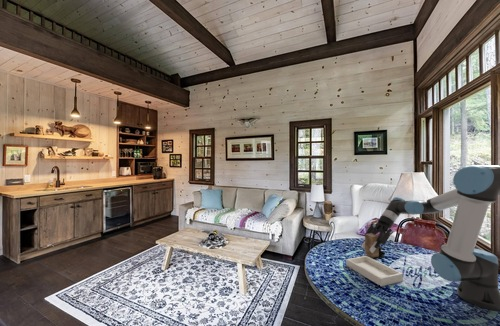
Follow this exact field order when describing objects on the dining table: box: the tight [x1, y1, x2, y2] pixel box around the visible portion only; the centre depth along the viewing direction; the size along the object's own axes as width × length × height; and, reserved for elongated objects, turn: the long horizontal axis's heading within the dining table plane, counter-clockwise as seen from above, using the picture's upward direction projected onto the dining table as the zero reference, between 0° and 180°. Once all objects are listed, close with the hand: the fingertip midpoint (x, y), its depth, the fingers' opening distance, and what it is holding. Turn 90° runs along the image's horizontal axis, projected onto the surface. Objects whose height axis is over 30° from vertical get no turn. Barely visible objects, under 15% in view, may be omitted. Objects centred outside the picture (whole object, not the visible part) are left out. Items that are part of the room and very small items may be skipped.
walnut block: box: [364, 233, 379, 259], centre depth 125 cm, size 5×5×12 cm
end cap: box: [372, 244, 386, 260], centre depth 148 cm, size 10×7×7 cm
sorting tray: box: [345, 255, 404, 287], centre depth 124 cm, size 24×16×4 cm, turn 19°
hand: (366, 249), depth 124 cm, fingers closed on walnut block, 5 cm apart
